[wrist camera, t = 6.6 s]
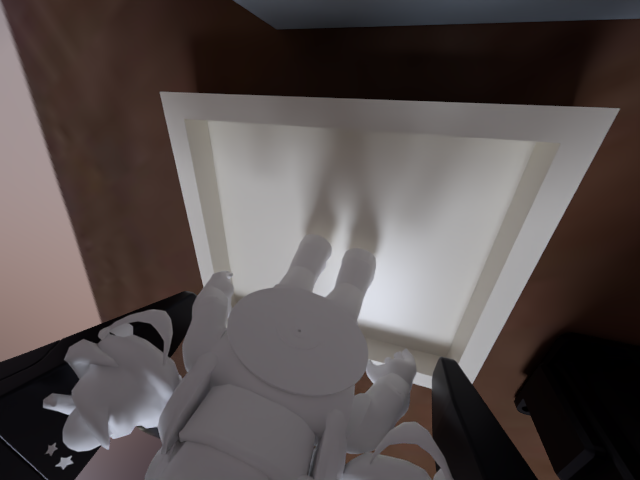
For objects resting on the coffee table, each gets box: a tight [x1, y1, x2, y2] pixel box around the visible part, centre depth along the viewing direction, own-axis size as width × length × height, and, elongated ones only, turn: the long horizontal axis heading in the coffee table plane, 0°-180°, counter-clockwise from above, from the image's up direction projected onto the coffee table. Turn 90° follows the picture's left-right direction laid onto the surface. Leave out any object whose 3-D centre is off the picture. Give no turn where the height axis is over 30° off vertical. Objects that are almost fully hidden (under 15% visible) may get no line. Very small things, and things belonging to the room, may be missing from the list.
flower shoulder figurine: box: [43, 234, 454, 480], centre depth 7 cm, size 9×4×12 cm, turn 76°
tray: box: [160, 92, 620, 389], centre depth 13 cm, size 16×14×2 cm
